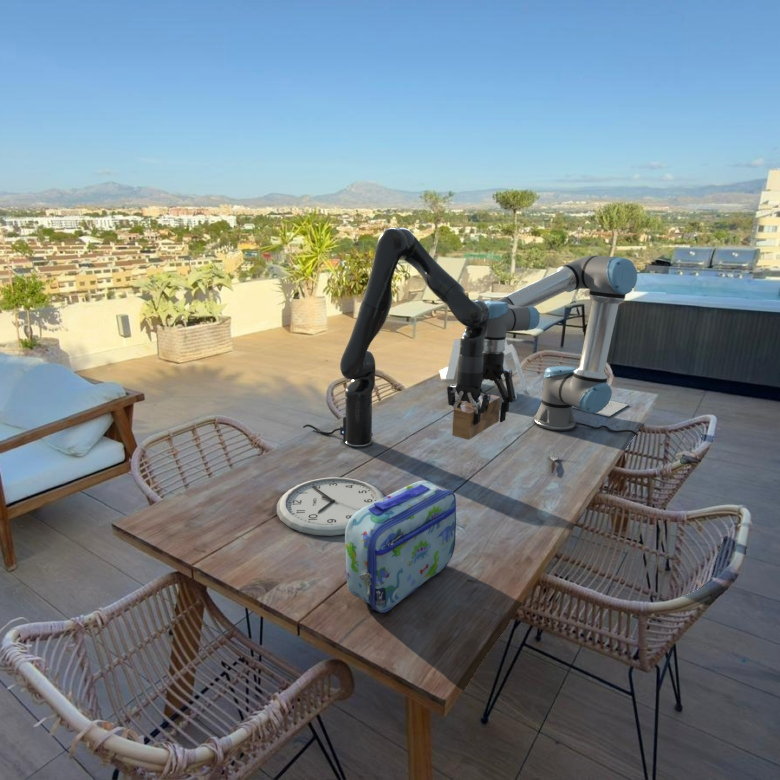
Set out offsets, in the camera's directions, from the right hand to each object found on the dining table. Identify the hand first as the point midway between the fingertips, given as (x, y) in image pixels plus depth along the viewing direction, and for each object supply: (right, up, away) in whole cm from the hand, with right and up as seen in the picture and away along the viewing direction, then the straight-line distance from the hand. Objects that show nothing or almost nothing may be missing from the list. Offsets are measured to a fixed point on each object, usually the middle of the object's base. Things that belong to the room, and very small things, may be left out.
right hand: (487, 417), depth 172 cm
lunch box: (-29, -33, -60) cm, 74 cm away
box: (-4, -3, -5) cm, 7 cm away
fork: (+21, -15, -2) cm, 26 cm away
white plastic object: (+10, +8, +71) cm, 73 cm away
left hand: (-9, -1, -11) cm, 14 cm away
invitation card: (+60, +2, +55) cm, 81 cm away
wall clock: (-48, -23, -29) cm, 60 cm away
